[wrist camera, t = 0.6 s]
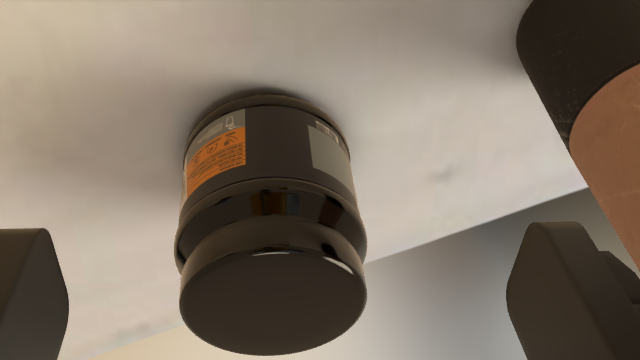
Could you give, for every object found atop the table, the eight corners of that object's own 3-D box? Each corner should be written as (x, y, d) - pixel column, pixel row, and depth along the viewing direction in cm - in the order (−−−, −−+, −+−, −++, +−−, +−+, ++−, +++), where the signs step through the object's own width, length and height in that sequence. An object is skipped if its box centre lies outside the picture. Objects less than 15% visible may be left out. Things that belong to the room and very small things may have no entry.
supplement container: (148, 149, 38) (122, 312, 29) (274, 53, 34) (285, 209, 25) (261, 228, 44) (266, 381, 36) (379, 154, 40) (416, 307, 32)
